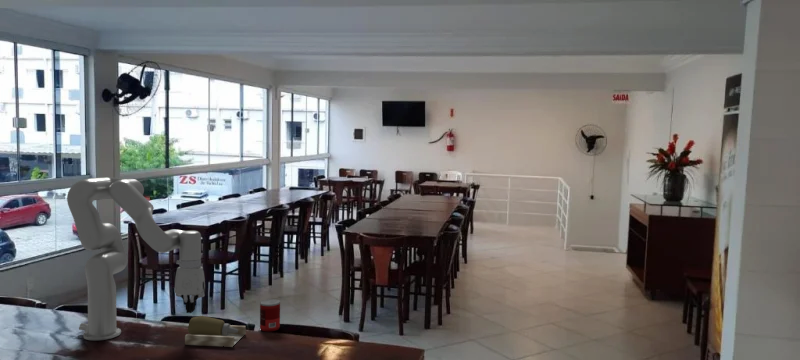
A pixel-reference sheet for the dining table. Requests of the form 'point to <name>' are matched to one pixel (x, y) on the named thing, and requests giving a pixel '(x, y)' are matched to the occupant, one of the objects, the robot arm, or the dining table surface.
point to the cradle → (216, 338)
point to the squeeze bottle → (209, 327)
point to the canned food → (269, 315)
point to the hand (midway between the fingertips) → (190, 311)
